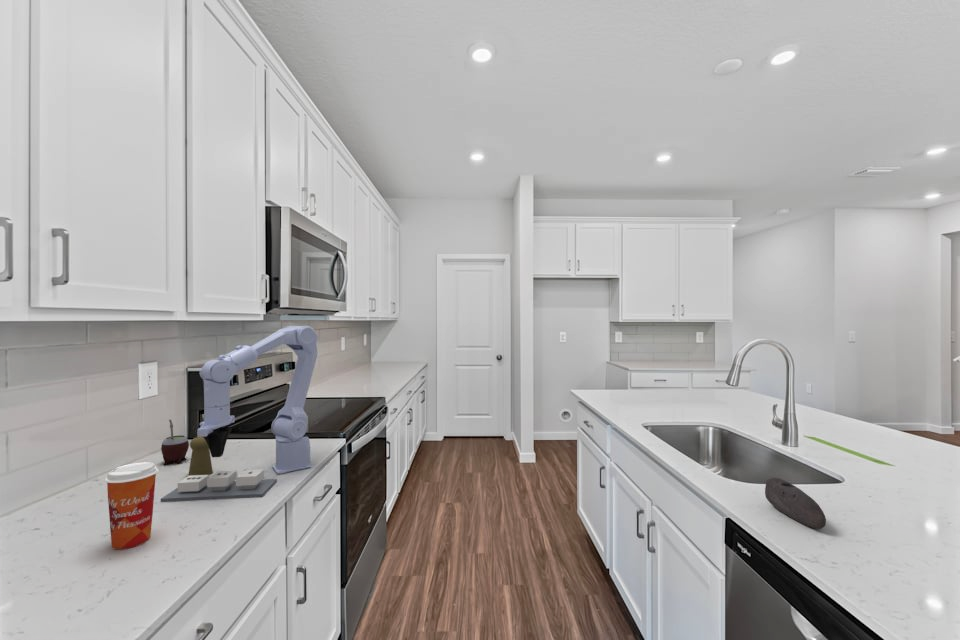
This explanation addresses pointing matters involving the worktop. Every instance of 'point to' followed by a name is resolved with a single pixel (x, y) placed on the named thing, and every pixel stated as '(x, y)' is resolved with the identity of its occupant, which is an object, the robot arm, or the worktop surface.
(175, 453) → the mate gourd
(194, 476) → the key three
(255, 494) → the keypad base
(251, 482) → the key one
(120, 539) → the coffee cup
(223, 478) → the key two
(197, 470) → the cork
